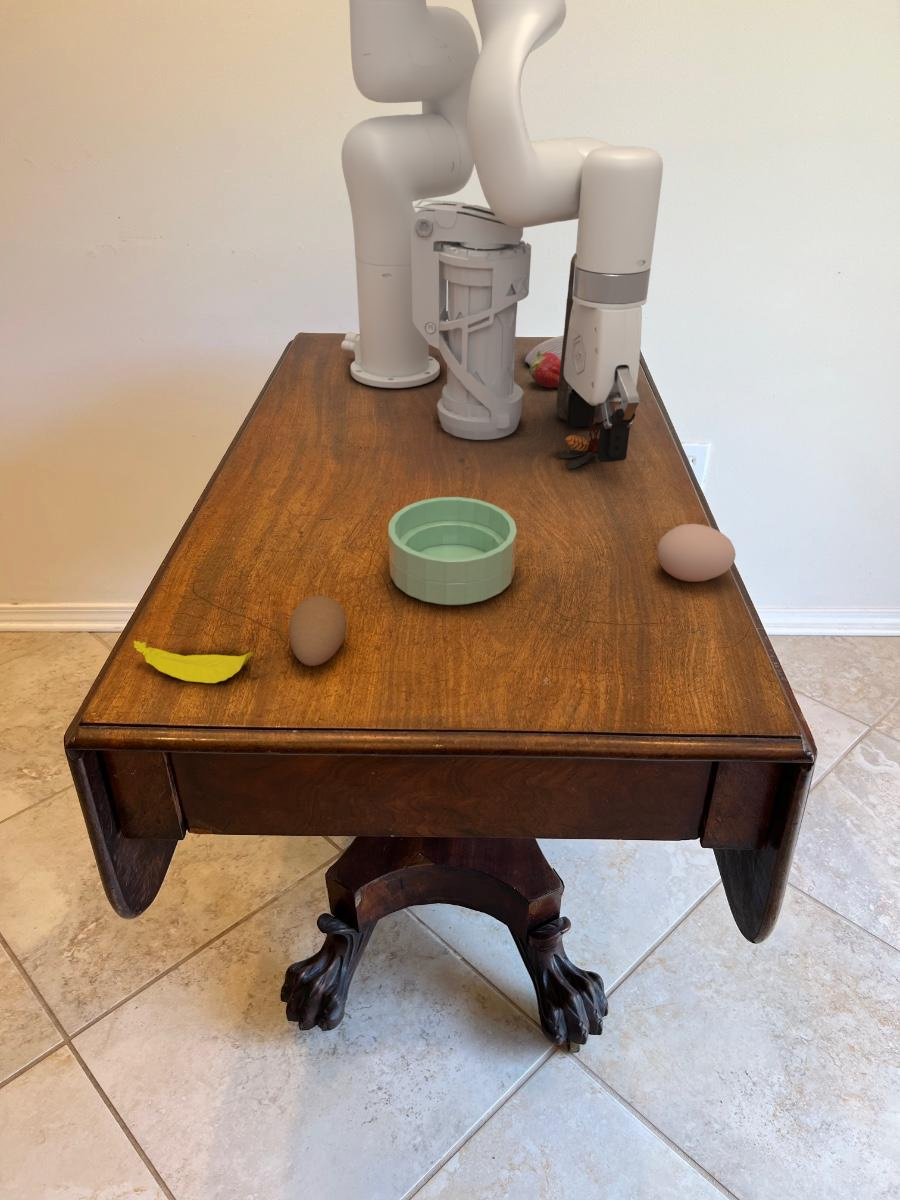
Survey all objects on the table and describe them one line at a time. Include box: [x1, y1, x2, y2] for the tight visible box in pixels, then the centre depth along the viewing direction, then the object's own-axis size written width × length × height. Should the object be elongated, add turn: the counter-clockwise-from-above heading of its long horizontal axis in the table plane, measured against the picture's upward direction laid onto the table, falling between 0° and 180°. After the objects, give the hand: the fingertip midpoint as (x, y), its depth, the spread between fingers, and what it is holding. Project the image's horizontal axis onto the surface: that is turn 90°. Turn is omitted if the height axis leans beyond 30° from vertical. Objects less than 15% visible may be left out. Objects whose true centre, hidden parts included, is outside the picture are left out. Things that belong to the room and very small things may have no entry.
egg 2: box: [656, 523, 736, 583], centre depth 74 cm, size 5×5×7 cm
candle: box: [555, 252, 618, 424], centre depth 99 cm, size 8×7×20 cm
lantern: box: [411, 198, 532, 441], centre depth 97 cm, size 13×10×25 cm
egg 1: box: [288, 594, 348, 667], centre depth 65 cm, size 4×4×6 cm
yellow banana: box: [133, 640, 255, 684], centre depth 64 cm, size 10×2×3 cm
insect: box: [557, 417, 604, 470], centre depth 95 cm, size 4×6×5 cm, turn 106°
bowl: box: [387, 496, 518, 606], centre depth 75 cm, size 11×11×5 cm
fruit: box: [528, 350, 561, 389], centre depth 113 cm, size 4×6×5 cm
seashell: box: [524, 335, 564, 368], centre depth 121 cm, size 10×6×10 cm
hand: (594, 442), depth 94 cm, fingers open, 9 cm apart
